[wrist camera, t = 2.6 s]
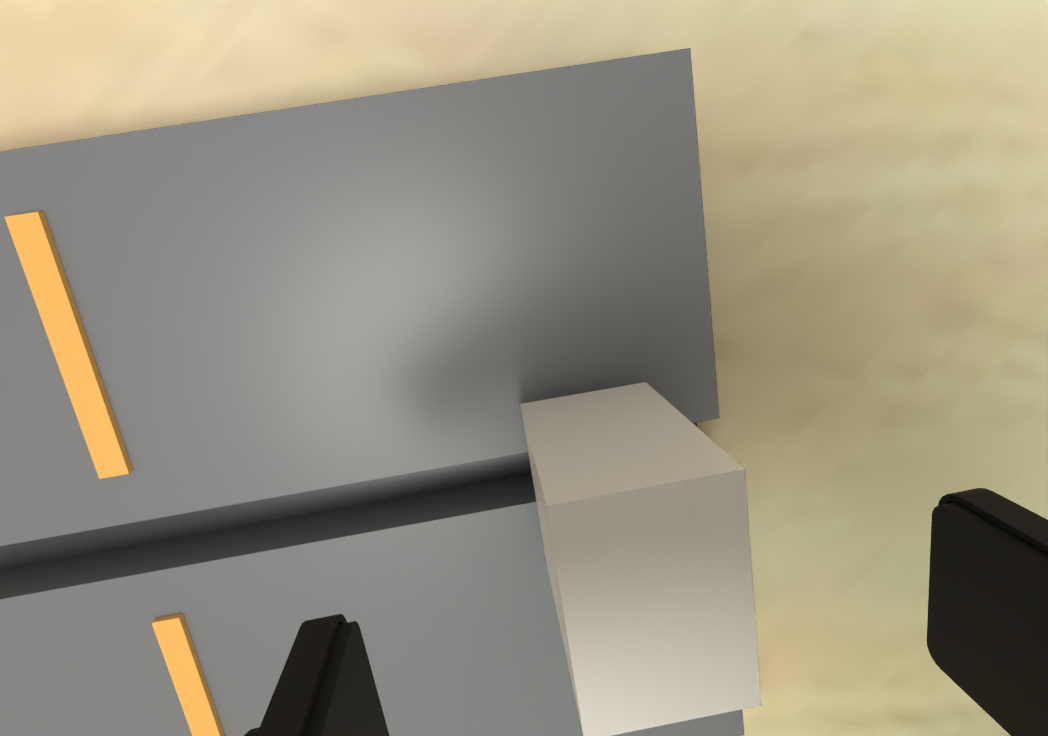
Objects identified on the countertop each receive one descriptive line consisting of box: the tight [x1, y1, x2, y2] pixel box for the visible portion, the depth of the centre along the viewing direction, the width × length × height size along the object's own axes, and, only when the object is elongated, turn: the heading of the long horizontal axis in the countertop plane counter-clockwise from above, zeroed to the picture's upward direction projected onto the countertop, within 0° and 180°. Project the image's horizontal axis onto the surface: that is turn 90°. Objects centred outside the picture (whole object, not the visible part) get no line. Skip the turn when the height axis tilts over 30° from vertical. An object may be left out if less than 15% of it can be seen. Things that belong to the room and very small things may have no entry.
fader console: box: [0, 48, 744, 736], centre depth 18 cm, size 24×22×3 cm
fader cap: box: [520, 382, 761, 736], centre depth 14 cm, size 4×5×8 cm
